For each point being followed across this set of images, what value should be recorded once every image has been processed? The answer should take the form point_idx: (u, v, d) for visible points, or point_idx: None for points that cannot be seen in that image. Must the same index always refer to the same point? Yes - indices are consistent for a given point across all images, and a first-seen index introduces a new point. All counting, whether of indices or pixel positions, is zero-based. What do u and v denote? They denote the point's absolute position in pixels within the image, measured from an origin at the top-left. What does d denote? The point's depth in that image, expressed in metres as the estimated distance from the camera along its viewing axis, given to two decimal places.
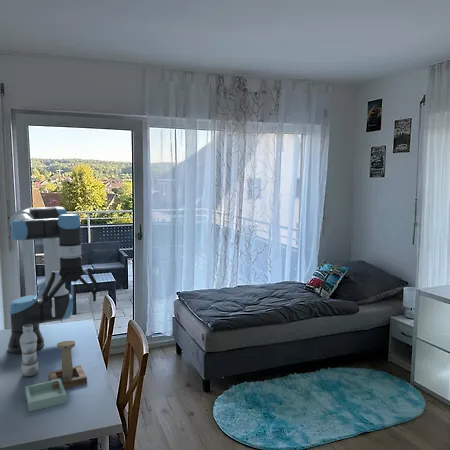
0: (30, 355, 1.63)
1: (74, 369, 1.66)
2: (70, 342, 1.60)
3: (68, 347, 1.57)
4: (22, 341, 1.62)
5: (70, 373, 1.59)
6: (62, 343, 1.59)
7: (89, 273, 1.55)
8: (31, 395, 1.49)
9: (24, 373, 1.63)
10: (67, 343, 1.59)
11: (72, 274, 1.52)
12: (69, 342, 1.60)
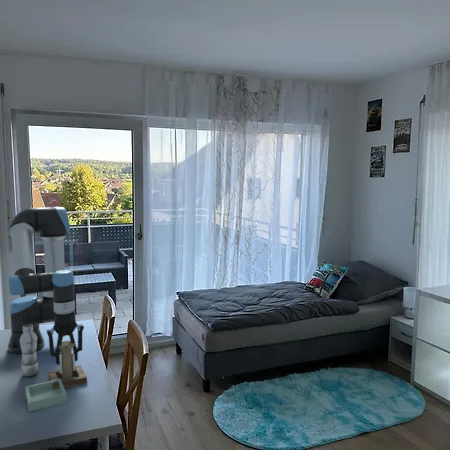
0: (30, 355, 1.63)
1: None
2: (70, 342, 1.60)
3: (68, 347, 1.57)
4: (22, 341, 1.62)
5: (70, 373, 1.59)
6: (62, 343, 1.59)
7: (80, 330, 1.60)
8: (31, 395, 1.49)
9: (24, 373, 1.63)
10: (67, 343, 1.59)
11: (66, 327, 1.58)
12: (69, 342, 1.60)
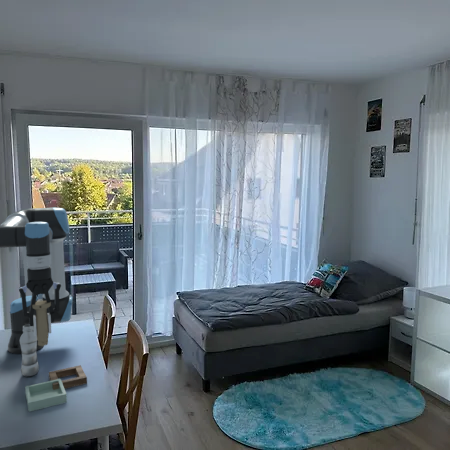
0: (30, 355, 1.63)
1: (74, 369, 1.66)
2: (45, 302, 1.45)
3: (43, 306, 1.42)
4: (22, 341, 1.62)
5: (45, 336, 1.44)
6: (36, 302, 1.44)
7: (57, 289, 1.45)
8: (31, 395, 1.49)
9: (24, 373, 1.63)
10: (42, 303, 1.43)
11: (41, 284, 1.43)
12: (44, 302, 1.45)
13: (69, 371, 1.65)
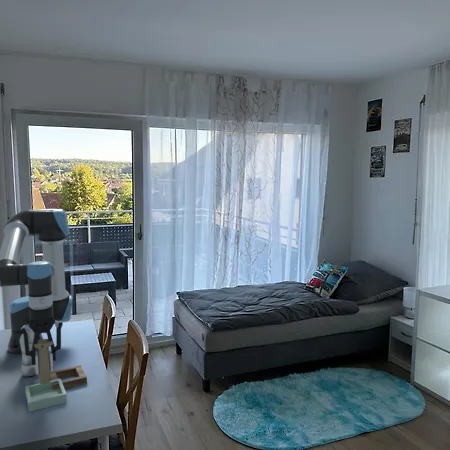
0: None
1: (74, 369, 1.66)
2: (47, 340, 1.46)
3: (45, 346, 1.44)
4: (22, 341, 1.62)
5: (47, 374, 1.46)
6: (38, 341, 1.45)
7: (59, 327, 1.47)
8: (31, 395, 1.49)
9: (24, 373, 1.63)
10: (44, 342, 1.45)
11: (43, 324, 1.44)
12: (46, 340, 1.46)
13: (69, 371, 1.65)
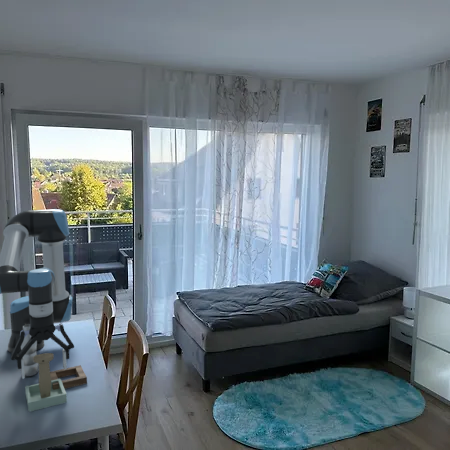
0: (30, 355, 1.63)
1: (74, 369, 1.66)
2: (48, 355, 1.47)
3: (46, 360, 1.44)
4: None
5: (48, 389, 1.46)
6: (39, 356, 1.46)
7: (61, 330, 1.47)
8: (31, 395, 1.49)
9: (24, 373, 1.63)
10: (45, 356, 1.45)
11: (43, 333, 1.44)
12: (47, 355, 1.47)
13: (69, 371, 1.65)
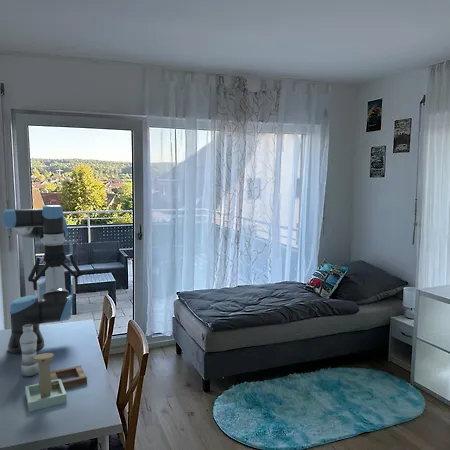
0: (30, 355, 1.63)
1: (74, 369, 1.66)
2: (48, 355, 1.47)
3: (46, 360, 1.44)
4: (22, 341, 1.62)
5: (48, 389, 1.46)
6: (39, 356, 1.46)
7: (71, 259, 1.70)
8: (31, 395, 1.49)
9: (24, 373, 1.63)
10: (45, 356, 1.46)
11: (55, 260, 1.67)
12: (47, 355, 1.47)
13: (69, 371, 1.65)
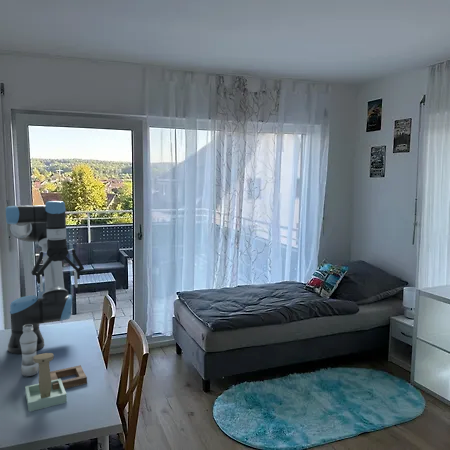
0: (30, 355, 1.63)
1: (74, 369, 1.66)
2: (48, 355, 1.47)
3: (46, 360, 1.44)
4: (22, 341, 1.62)
5: (48, 389, 1.46)
6: (39, 356, 1.46)
7: (73, 253, 1.75)
8: (31, 395, 1.49)
9: (24, 373, 1.63)
10: (45, 356, 1.46)
11: (58, 254, 1.72)
12: (47, 355, 1.47)
13: (69, 371, 1.65)
